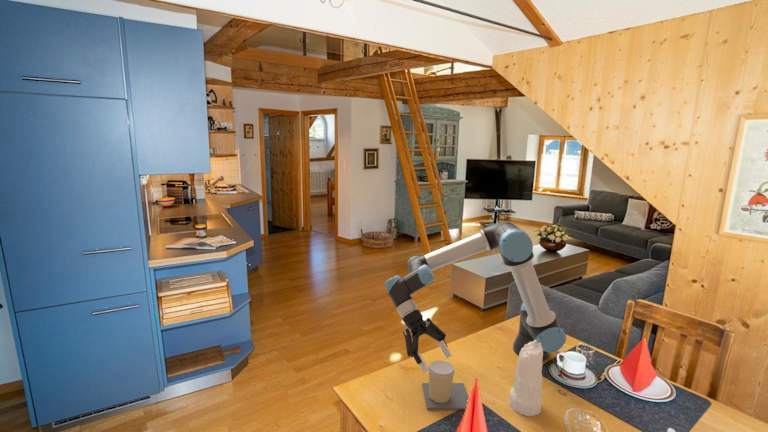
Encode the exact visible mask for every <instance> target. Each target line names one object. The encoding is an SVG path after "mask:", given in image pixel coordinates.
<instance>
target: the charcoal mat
mask: <svg viewBox="0 0 768 432" xmlns="http://www.w3.org/2000/svg"><path fill="white" fill-rule="evenodd" d="M422 389H423V395H424V400H425V405H426V410H431V411H432V410H435V411H436V410H439V411H441V410H443V411H444V410H445V411H446V410H451V411H452V410H453V411H454V410H455V411H457V410H458V411H459V410H460V411H461V410H465V407H466V404H467V400H468V398H469V395H468V393H467V389H466V386H465V384H464V382H452V389H451V395H450V399H449V401H448V402H446V403H437V402H434V401H433V400H431V399H430V397H429V382H422Z"/></svg>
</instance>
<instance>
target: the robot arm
mask: <svg viewBox="0 0 768 432" xmlns="http://www.w3.org/2000/svg"><path fill="white" fill-rule="evenodd" d="M533 245H534V244H533V241H532V239H531V237H530V236H529V234H528V233H527V232H526V231H524V230H523V229H521V228H520V227H518V226H517V225H516V224H515V223H512V222H510V221H500V222H498V223H494V224H492V225H488V226H486V227H483V228H481V229H480V230H479V232H478V233H476V234H473V235H471V236H468V237H466V238H464V239H461V240H458V241H455V242H453V243H451V244H449V245H446V246H443V247H441V248H439V249H436V250H433V251H431V252H429V253H426V254H424V255H422V256H418V255H414V256H412V257H410V258H409V259H408V261H407V266H406V267H407V271H408V274H406V275H405V276H403V277H401V276H400V275H394V276H392V277H391V278H389V279H387V280H386V281H385V283H384V288H385V290H386V292H387V295H388V297H390V299H391V301H392V302H393V305H394V307H395V308H396V310H397V312H398V314H399V316H400V317H402V322H403V324H404V325H405V326H406V327H407V328H406V329H404V330H403V331H402V333H403V335H404V341H405V348H406V354H407V357H409V358H410V357H411V358H413V359H414V361H415V362H416V364H417V365H418V366H419V367H420V369H421V371H422V373H426V372H427V371H428V372H429V366H428V365H427V364H426V361H425V360H424V358H423V356H422V354H421V353H420V352H419V339H420V337H421V336H423V335H427V336H428V337H431V338H432V339H434V340H436V341H437V344H438V346H439V348H440V349H441V351H442V353H443V356H445V358H446V359H448V358H450V357H452V355H453V354H452V353H451V352H450V350H449V347H448V344H447V342H446V340H445V339H446V336H447V335H446V333H445V332H444V331H443V330H442V329H441V328H440V327H438V326H437V325H436V324H435V323H433V321H432V319H430V318H429V317H427V319H425V320H424V319H423V318H424V317H423V315H422V313H421V311H420V309H418V305H417V303H416V302H415V300H414V298H413V297H412V294H415V293H416V292H418V291H420V290H421V289H423V288H424V287H426V286H428V285H430V284H432V282H434V281H435V275H434V273H433V271H435V270H438V269H441V268H442V267H446V266H448V265H451V264H454V263H455V262H458V261H460V260H463V259H466V258H468V257H470V256H474V255H476V254H478V253H481V252H483V251H492V250H497V249H498V252H499V254H500V256H501V258H502V261H503V264H504V265H505V266H506V267H508V268H509V269H510V272H511V274H512V277H513V279H514V282H515V284H516V287H517V290H518V292H519V296H520V298H521V300H522V304H521V306H520V312H519V313H520V314H519V326H518V333H517V334H516V337H515V339H514V340H513V343H512V350H513V351H514V352H515V354H517V355H518V356H519V353H520V351H521V349H522V348H523V347H524V345H525V344H528V343H529V342H533V341H534V340H537V344H538V343H541V347H542V348H543V359H542V361H543V360H545V359H547V358H548V357H549V354H550V353H553V352H554V353H555V352H557V351H560V349H562V348H563V347H564V345H565V344H566V341H567V335H566V333H565V331H564V329H563V328H561V326H560V324H559V321H558V319H557V318H558V317H557V315H556V313H555V312H554V311H553V310H551V309H550V306H549V304H548V302H547V300H546V297H545V294H544V291H543V289H542V286H541V283H540V281H539V278H538V275H537V272H536V270H535V269H536V268H535V267H534V264H533V259H534V257H535V254H534V252H533V249H534V246H533Z"/></svg>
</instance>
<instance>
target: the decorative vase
mask: <svg viewBox="0 0 768 432" xmlns="http://www.w3.org/2000/svg"><path fill="white" fill-rule="evenodd" d="M542 359H543V348H542V347H541V343H538V344H537V340H534V341H533V342H529V343H528V344H525V345H524V347H523V348H522V349H521V351H520V353H519V355H518V360H517V362H516V366H515V367H516V368H515V376H514V379H513V387H511V389H510V391H509V401H508V402H509V405H510V407H511V408H512V410H513V411H514V412H516V413H518V414H519V415H522V416H526V417H535V416H537V415H539V414H541V411H542V404H543V396H542V388H543V387H542V385H543V373H542V371H543V364H544V363H543V360H544V359H543V360H542Z"/></svg>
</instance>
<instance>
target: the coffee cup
mask: <svg viewBox="0 0 768 432" xmlns="http://www.w3.org/2000/svg"><path fill="white" fill-rule="evenodd" d="M428 368H429V370H428V383H429V397H430V399H431V400H433V401H434V402H437V403H446V402H448V401H449V399H450V395H451V389H452V383H454V374H455V368H454V366H453V364H451V363H450V362H447V361H444V360H434V361H432V362H430V364H429V366H428Z"/></svg>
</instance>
